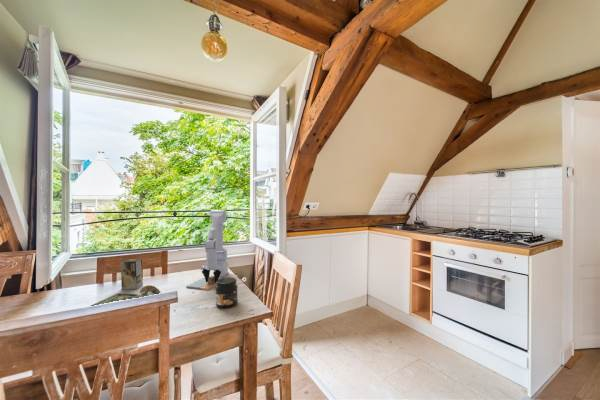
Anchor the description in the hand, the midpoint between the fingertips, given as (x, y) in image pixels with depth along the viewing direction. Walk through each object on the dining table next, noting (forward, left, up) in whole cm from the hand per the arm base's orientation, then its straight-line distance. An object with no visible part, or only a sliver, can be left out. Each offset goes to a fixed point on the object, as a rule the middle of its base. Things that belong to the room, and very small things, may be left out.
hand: (212, 282), depth 149 cm
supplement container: (+20, +24, -2) cm, 31 cm away
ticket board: (0, -8, -2) cm, 8 cm away
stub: (0, 0, -2) cm, 2 cm away
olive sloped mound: (+32, -26, -3) cm, 41 cm away
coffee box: (+15, -44, -2) cm, 47 cm away
